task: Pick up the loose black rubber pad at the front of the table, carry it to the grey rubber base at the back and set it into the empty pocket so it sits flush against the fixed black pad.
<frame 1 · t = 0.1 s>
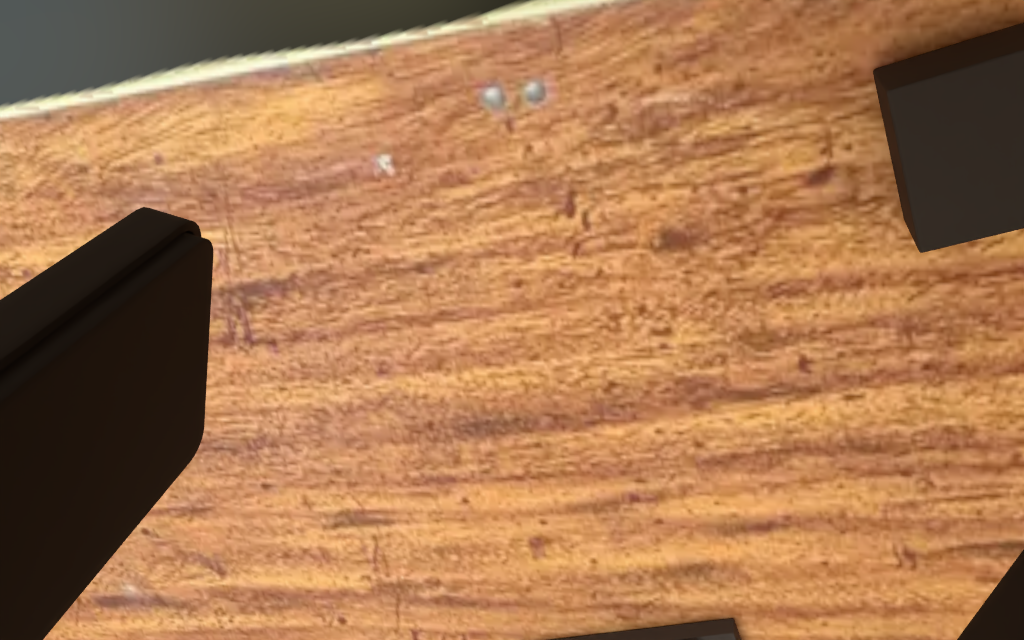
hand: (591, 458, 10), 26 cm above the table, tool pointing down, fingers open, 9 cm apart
loose pad: (963, 127, 31), on the table
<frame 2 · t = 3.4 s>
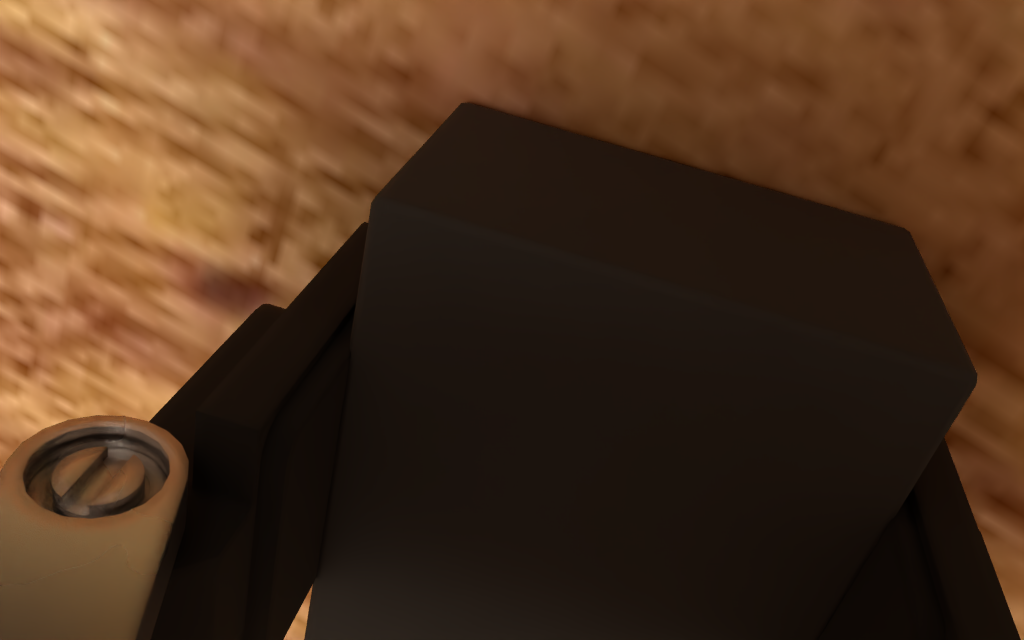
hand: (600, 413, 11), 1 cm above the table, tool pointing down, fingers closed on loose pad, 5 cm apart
loose pad: (606, 383, 11), on the table, touching gripper
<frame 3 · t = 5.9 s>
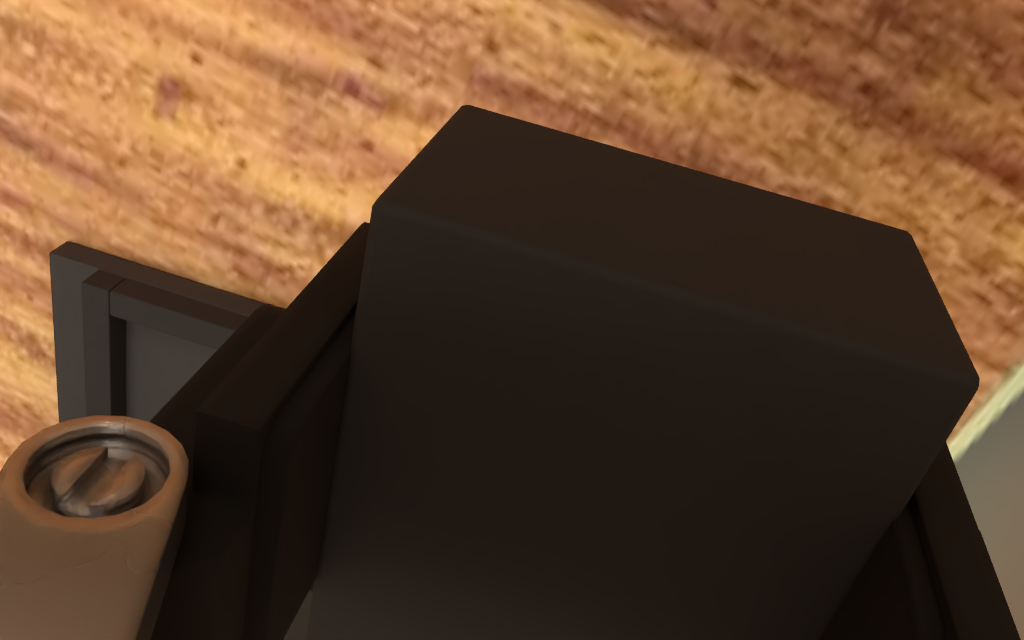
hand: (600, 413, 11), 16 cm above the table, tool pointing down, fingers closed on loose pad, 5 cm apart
loose pad: (607, 385, 11), point 15 cm above the table, touching gripper
pad base: (215, 461, 35), on the table
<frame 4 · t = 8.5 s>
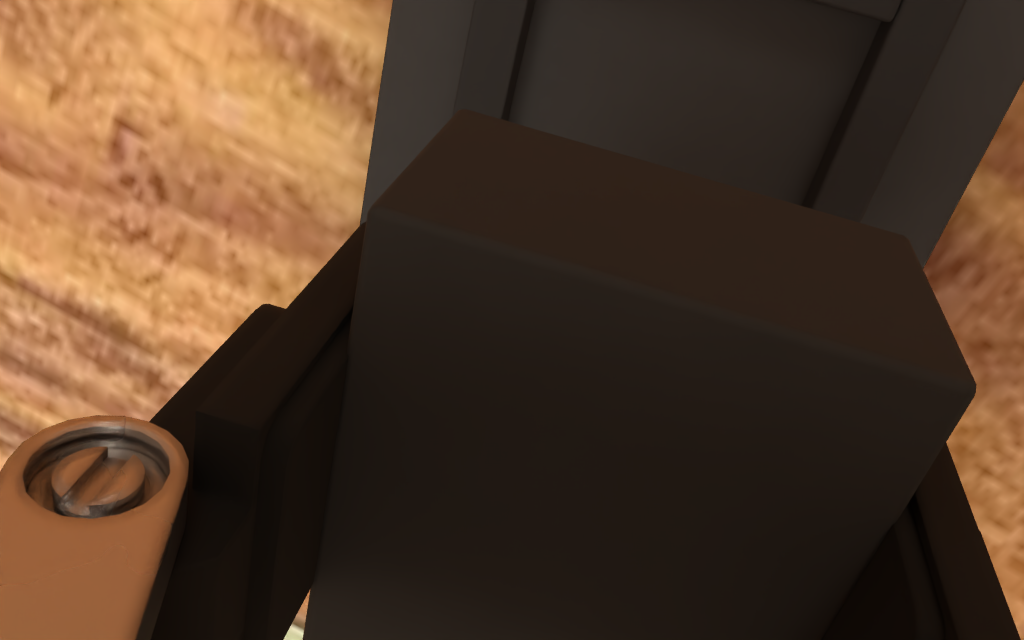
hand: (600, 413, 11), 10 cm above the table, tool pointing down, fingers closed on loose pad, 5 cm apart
loose pad: (605, 389, 11), point 10 cm above the table, touching gripper
pad base: (616, 269, 21), on the table
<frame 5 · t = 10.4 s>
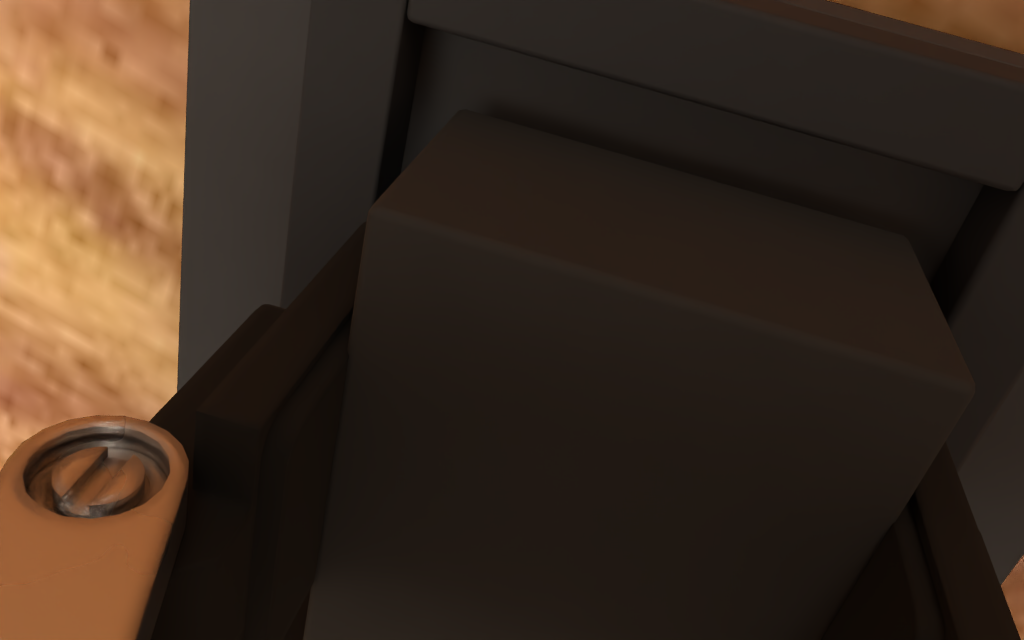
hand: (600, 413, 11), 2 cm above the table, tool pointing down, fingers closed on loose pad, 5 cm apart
loose pad: (604, 389, 11), point 2 cm above the table, touching gripper
pad base: (560, 493, 14), on the table
when the fingers open (2 cm above the table, at t = 13.6 s): loose pad stays where it is, resting on pad base.
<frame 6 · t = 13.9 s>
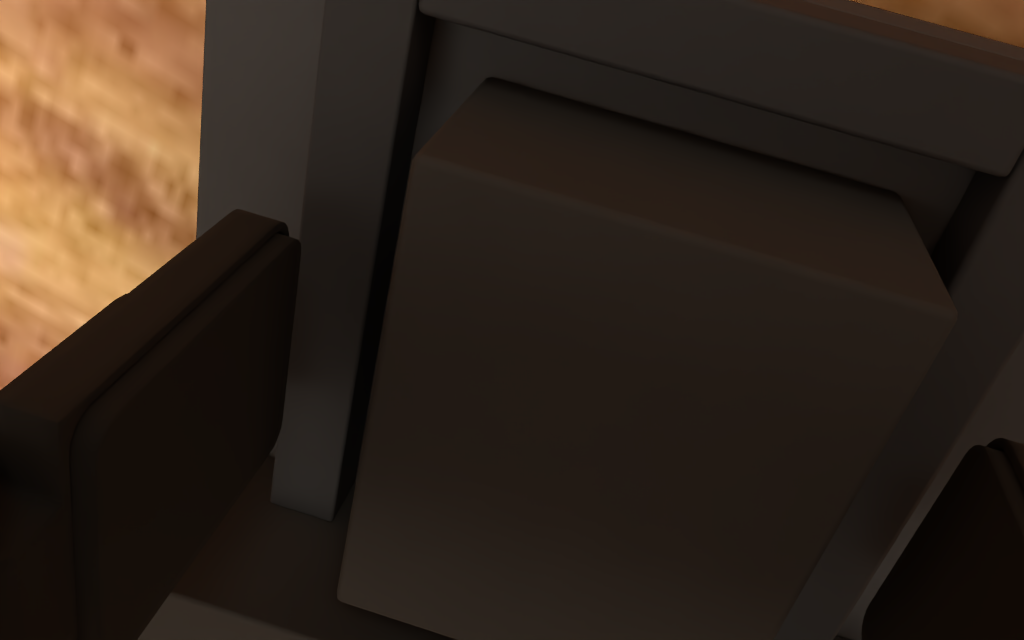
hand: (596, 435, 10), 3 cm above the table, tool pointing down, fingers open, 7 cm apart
loose pad: (618, 342, 12), point 1 cm above the table, touching pad base
pad base: (564, 477, 14), on the table
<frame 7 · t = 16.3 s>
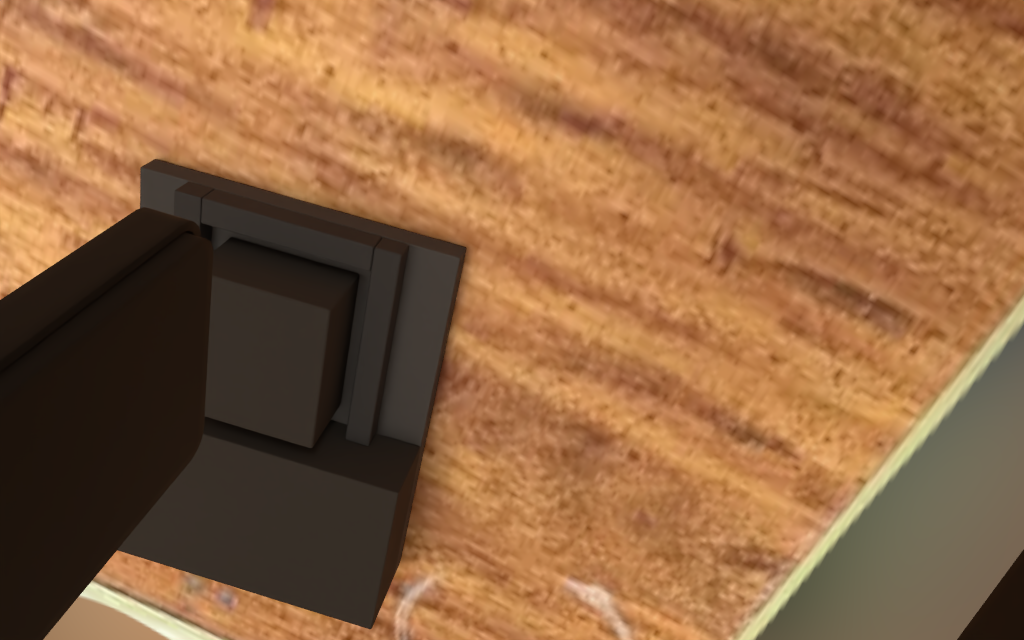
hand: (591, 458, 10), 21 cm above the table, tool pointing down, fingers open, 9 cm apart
loose pad: (288, 323, 34), point 1 cm above the table, touching pad base
pad base: (289, 380, 36), on the table
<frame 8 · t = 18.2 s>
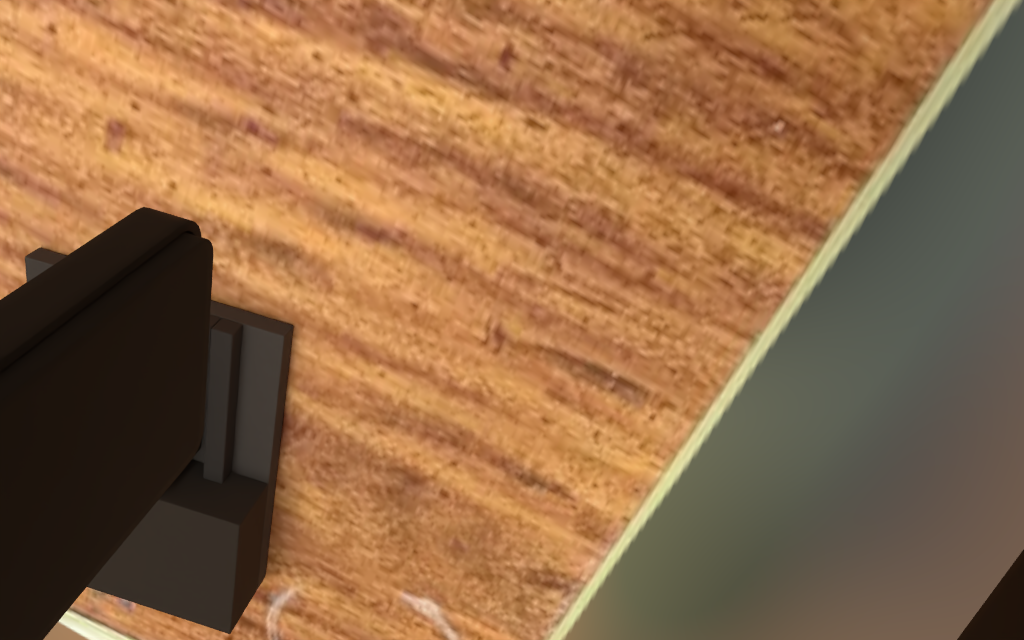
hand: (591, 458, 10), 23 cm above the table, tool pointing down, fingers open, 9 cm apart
pad base: (162, 425, 43), on the table
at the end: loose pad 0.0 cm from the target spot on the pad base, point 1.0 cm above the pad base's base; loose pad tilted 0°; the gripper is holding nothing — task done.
